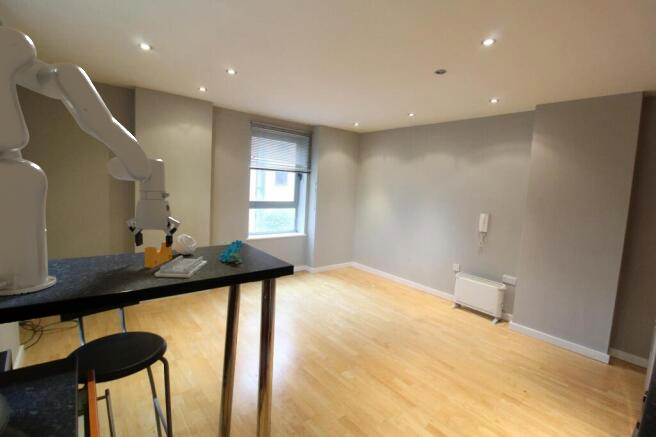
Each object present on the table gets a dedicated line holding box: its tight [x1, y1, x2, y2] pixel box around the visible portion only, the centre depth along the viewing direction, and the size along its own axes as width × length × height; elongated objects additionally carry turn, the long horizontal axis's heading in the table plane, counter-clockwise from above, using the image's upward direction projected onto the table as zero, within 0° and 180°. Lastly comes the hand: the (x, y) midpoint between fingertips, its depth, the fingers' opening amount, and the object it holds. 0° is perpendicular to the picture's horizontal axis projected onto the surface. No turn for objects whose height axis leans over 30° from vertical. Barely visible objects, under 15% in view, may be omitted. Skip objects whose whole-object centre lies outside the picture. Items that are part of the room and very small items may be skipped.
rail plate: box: [154, 255, 208, 279], centre depth 98 cm, size 16×10×3 cm, turn 4°
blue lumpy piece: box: [219, 239, 243, 263], centre depth 112 cm, size 11×6×10 cm
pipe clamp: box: [144, 240, 173, 269], centre depth 103 cm, size 12×4×6 cm, turn 1°
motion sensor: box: [173, 233, 198, 256], centre depth 117 cm, size 8×8×8 cm
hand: (154, 245), depth 104 cm, fingers open, 9 cm apart
